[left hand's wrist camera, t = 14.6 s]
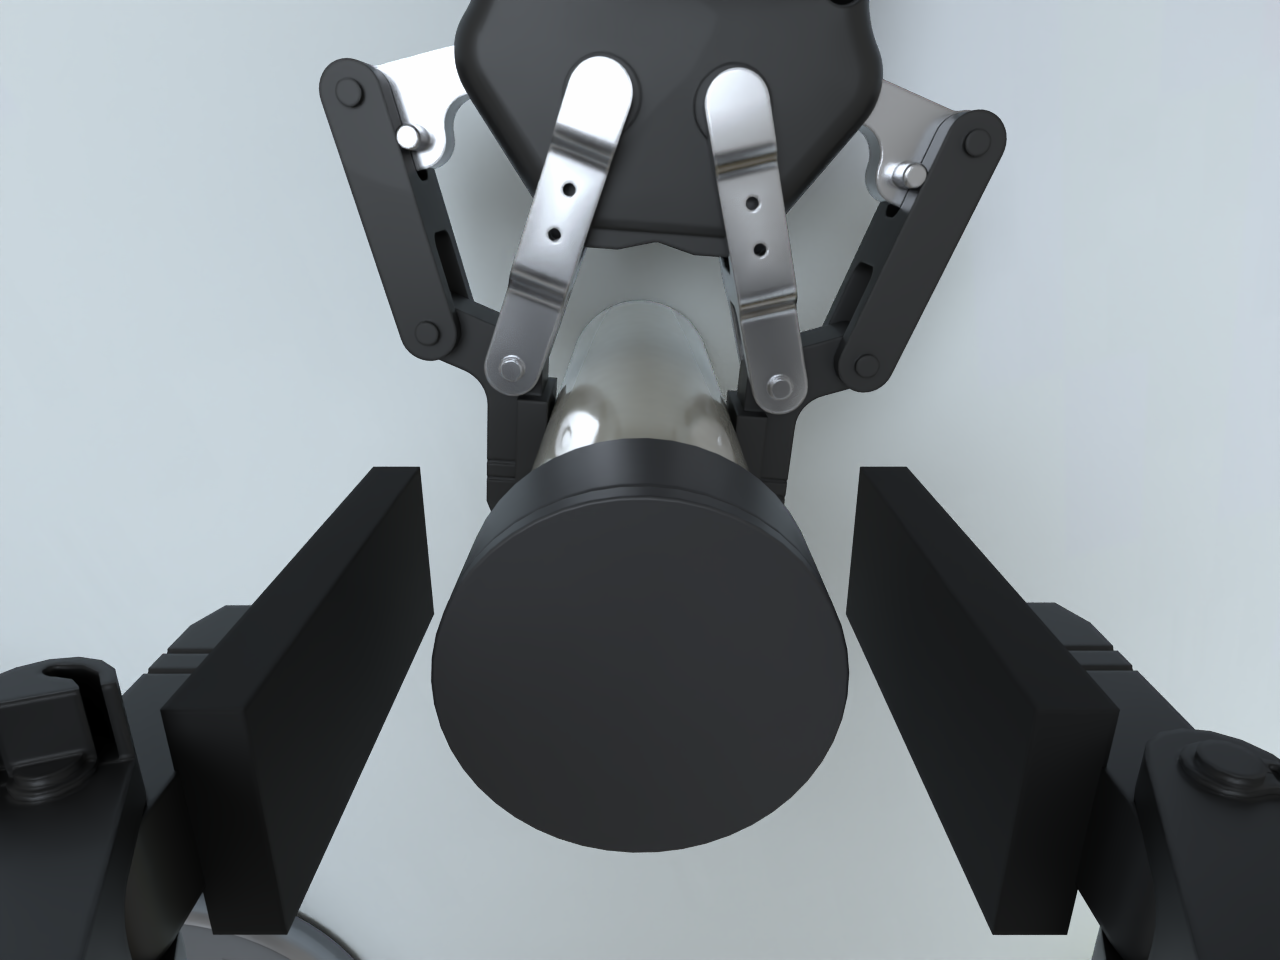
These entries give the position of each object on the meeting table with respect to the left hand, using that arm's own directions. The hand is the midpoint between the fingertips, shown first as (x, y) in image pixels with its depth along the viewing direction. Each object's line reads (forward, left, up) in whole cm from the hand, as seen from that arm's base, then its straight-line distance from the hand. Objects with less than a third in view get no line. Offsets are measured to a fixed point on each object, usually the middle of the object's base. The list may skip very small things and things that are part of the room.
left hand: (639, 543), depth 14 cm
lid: (0, 0, +4) cm, 4 cm away
